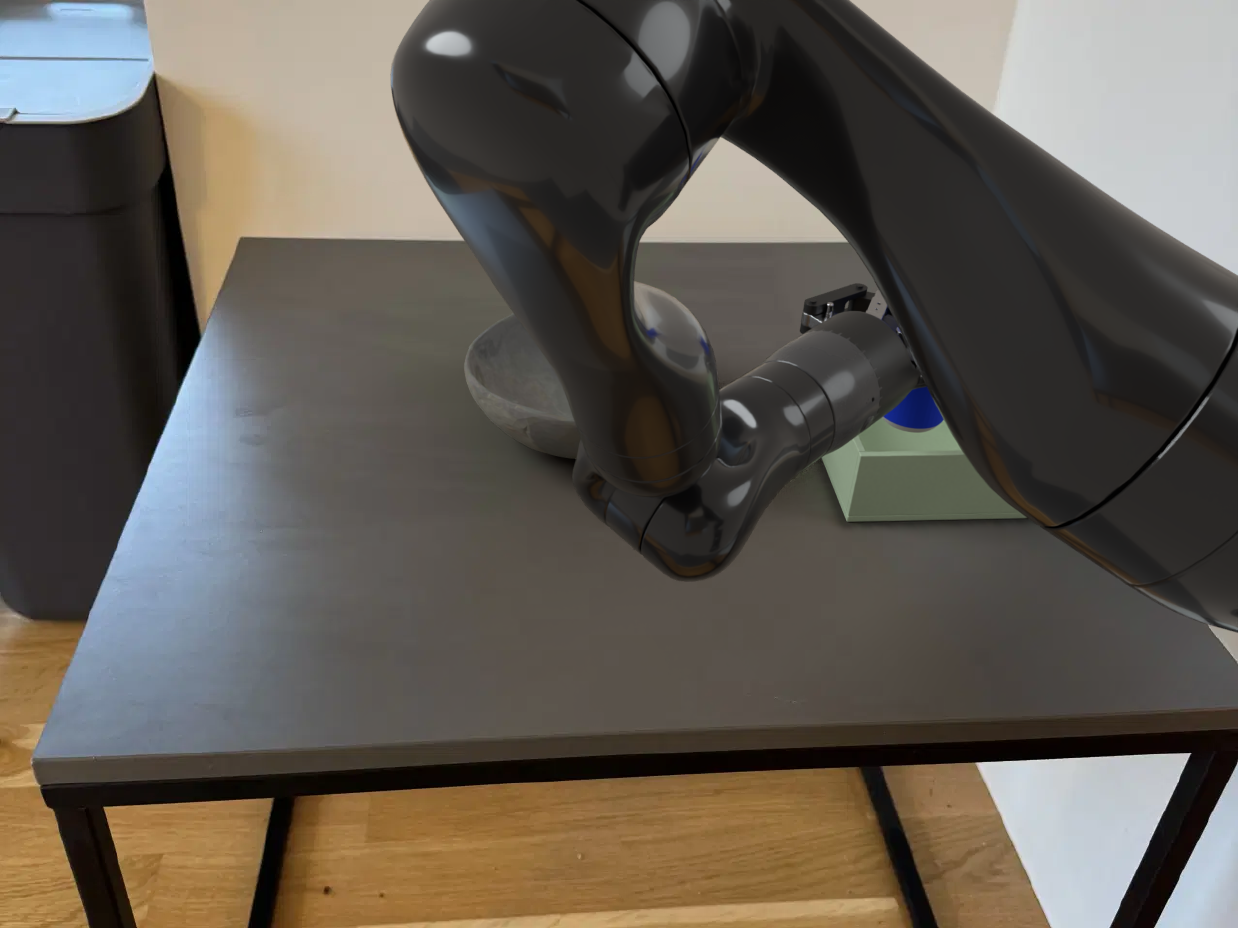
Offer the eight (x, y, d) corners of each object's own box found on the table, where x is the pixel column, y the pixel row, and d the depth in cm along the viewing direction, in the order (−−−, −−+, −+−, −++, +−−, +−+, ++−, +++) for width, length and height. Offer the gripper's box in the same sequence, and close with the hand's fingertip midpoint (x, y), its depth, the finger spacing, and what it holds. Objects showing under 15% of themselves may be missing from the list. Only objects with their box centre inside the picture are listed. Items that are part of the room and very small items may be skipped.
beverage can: (900, 392, 89) (942, 218, 80) (955, 420, 86) (1004, 242, 78) (862, 414, 86) (900, 235, 78) (917, 443, 83) (963, 261, 75)
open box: (1038, 518, 91) (1061, 453, 87) (846, 522, 89) (860, 456, 85) (971, 409, 104) (988, 348, 100) (803, 411, 102) (813, 349, 98)
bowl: (525, 529, 87) (524, 446, 82) (434, 397, 101) (429, 320, 97) (751, 464, 95) (762, 386, 90) (637, 351, 110) (641, 278, 105)
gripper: (937, 379, 66) (1055, 291, 77) (745, 297, 74) (877, 227, 84) (911, 479, 71) (1027, 382, 81) (732, 392, 78) (859, 314, 89)
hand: (950, 304), depth 83 cm, fingers closed on beverage can, 5 cm apart
